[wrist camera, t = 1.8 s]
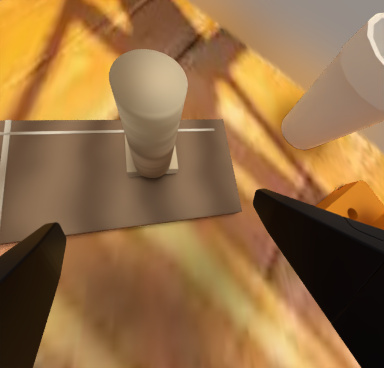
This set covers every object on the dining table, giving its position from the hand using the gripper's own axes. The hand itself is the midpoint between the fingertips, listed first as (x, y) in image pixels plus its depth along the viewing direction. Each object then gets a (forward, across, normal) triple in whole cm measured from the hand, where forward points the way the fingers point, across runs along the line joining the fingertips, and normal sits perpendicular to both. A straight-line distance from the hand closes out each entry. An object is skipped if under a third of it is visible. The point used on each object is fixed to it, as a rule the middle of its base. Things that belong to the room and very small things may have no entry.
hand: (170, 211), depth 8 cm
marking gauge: (+15, 0, +2) cm, 16 cm away
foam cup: (+16, -23, +2) cm, 28 cm away
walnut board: (+14, +6, +4) cm, 15 cm away
